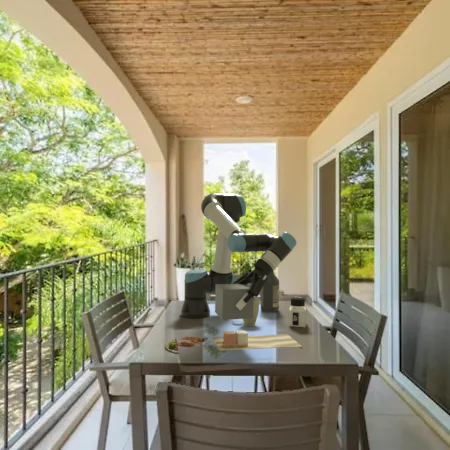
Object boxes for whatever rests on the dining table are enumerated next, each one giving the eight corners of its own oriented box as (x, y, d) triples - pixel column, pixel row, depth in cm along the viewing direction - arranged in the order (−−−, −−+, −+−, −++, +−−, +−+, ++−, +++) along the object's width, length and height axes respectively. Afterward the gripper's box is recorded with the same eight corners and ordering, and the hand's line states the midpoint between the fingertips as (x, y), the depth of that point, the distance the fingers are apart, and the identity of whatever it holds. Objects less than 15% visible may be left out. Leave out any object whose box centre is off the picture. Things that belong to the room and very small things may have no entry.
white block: (235, 341, 149) (235, 330, 149) (244, 340, 150) (244, 330, 150) (237, 344, 146) (238, 333, 145) (247, 343, 147) (248, 333, 147)
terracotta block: (223, 341, 149) (223, 331, 148) (233, 341, 149) (233, 331, 149) (225, 344, 145) (225, 334, 145) (235, 344, 145) (235, 333, 145)
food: (218, 352, 142) (218, 344, 142) (172, 358, 136) (172, 350, 135) (203, 337, 159) (203, 330, 159) (162, 342, 153) (162, 335, 152)
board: (212, 341, 154) (212, 337, 154) (287, 337, 160) (287, 334, 160) (219, 354, 138) (219, 350, 138) (301, 350, 144) (301, 346, 144)
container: (305, 327, 176) (306, 299, 176) (288, 326, 178) (289, 298, 178) (305, 323, 184) (305, 296, 184) (289, 322, 185) (289, 295, 185)
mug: (264, 324, 180) (264, 299, 180) (250, 328, 173) (251, 302, 173) (246, 320, 188) (246, 296, 188) (233, 324, 180) (233, 298, 180)
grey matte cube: (215, 311, 151) (215, 284, 151) (243, 310, 154) (244, 283, 154) (222, 319, 140) (222, 289, 140) (253, 318, 143) (253, 288, 143)
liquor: (259, 311, 208) (260, 256, 208) (263, 307, 216) (264, 255, 216) (276, 312, 204) (276, 257, 204) (279, 309, 213) (280, 256, 213)
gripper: (288, 275, 141) (250, 318, 136) (258, 266, 164) (225, 303, 159) (275, 261, 139) (237, 304, 134) (248, 254, 162) (214, 291, 157)
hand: (230, 304), depth 146 cm, fingers closed on grey matte cube, 13 cm apart
